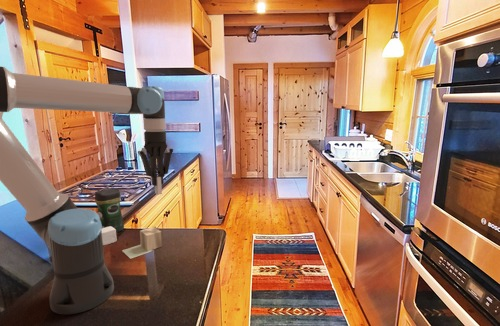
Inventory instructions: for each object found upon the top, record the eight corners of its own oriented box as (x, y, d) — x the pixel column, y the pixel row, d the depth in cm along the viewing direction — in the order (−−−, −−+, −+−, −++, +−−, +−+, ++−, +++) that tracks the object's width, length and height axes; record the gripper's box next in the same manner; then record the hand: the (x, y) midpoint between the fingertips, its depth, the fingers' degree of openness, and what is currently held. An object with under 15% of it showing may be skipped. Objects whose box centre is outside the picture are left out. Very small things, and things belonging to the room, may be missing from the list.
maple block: (162, 231, 104) (146, 235, 100) (162, 246, 105) (147, 251, 101) (155, 226, 109) (139, 230, 104) (155, 241, 110) (140, 245, 105)
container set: (111, 238, 112) (110, 225, 111) (117, 242, 109) (115, 229, 108) (53, 256, 98) (51, 242, 97) (57, 262, 94) (55, 247, 93)
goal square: (152, 251, 101) (152, 250, 101) (130, 258, 96) (130, 258, 96) (143, 243, 107) (143, 243, 107) (122, 250, 102) (122, 250, 102)
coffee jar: (117, 225, 125) (114, 185, 122) (126, 230, 120) (123, 188, 117) (95, 232, 117) (90, 190, 114) (104, 237, 112) (99, 193, 109)
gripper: (166, 129, 108) (169, 188, 112) (132, 130, 99) (137, 194, 103) (176, 130, 102) (178, 192, 106) (141, 131, 93) (145, 199, 97)
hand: (158, 193), depth 104 cm, fingers closed
